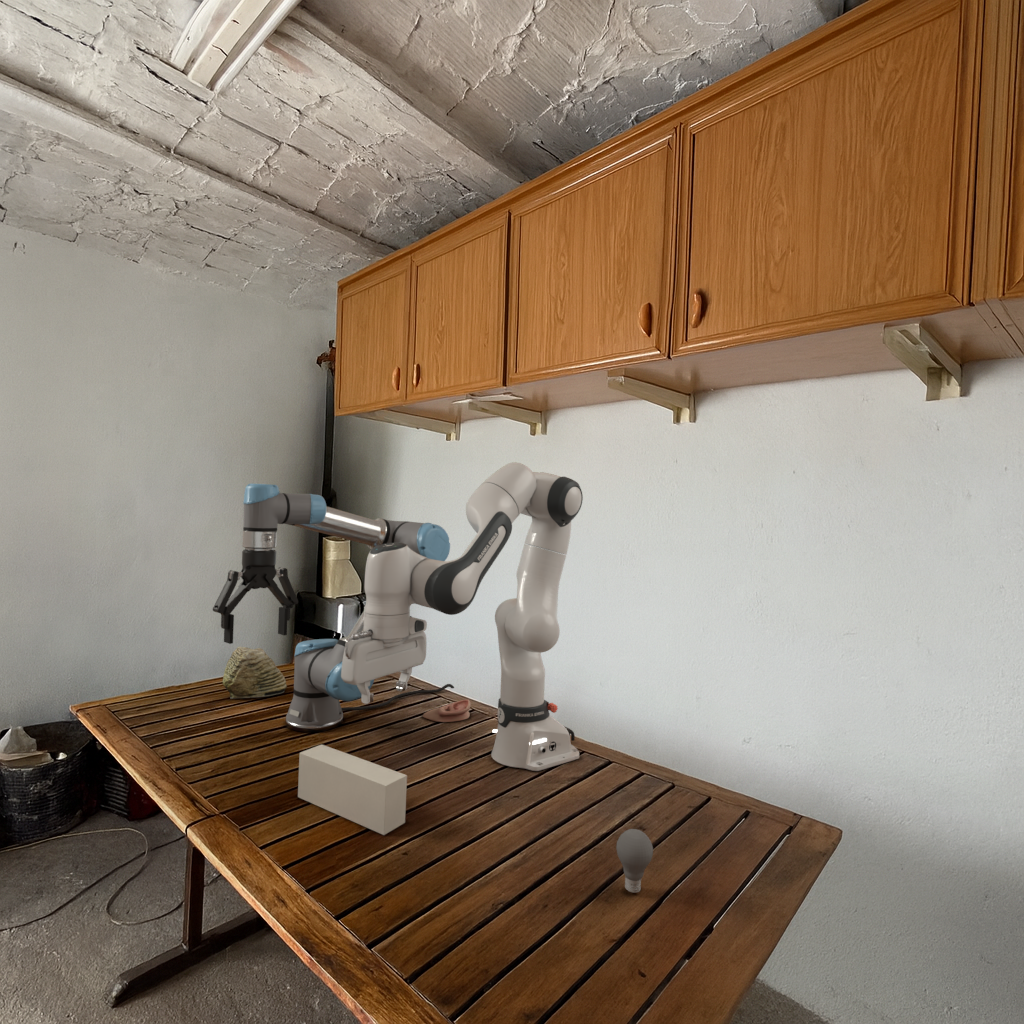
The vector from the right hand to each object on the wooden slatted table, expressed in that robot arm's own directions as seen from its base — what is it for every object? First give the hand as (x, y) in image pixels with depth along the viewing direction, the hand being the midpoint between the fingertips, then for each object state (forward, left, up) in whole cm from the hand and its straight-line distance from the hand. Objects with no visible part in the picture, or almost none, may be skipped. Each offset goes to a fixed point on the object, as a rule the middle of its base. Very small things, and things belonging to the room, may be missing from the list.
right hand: (385, 696), depth 124 cm
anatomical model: (-34, -52, -25) cm, 67 cm away
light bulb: (-32, +38, -25) cm, 56 cm away
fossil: (+15, -90, -25) cm, 95 cm away
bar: (+4, -7, -25) cm, 26 cm away
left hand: (+20, -40, +4) cm, 45 cm away
